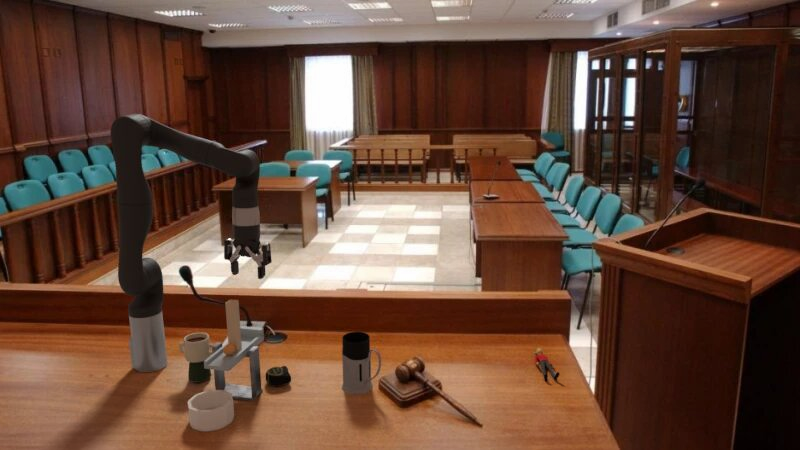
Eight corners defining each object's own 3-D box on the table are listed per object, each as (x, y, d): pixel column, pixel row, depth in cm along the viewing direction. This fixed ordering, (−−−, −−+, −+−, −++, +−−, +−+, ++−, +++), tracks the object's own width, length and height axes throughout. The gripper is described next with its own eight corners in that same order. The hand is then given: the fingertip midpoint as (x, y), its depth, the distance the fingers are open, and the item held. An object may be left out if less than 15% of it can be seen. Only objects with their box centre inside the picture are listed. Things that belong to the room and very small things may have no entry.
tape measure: (291, 386, 179) (291, 374, 178) (267, 390, 177) (266, 378, 176) (288, 375, 185) (287, 363, 185) (264, 379, 183) (264, 367, 182)
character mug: (223, 374, 186) (219, 333, 183) (212, 386, 179) (209, 343, 176) (188, 372, 188) (184, 331, 184) (176, 383, 181) (172, 341, 178)
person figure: (544, 368, 180) (533, 341, 197) (539, 380, 181) (528, 352, 198) (561, 373, 180) (548, 345, 197) (556, 385, 181) (544, 356, 198)
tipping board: (201, 370, 164) (196, 313, 160) (239, 339, 183) (235, 287, 179) (232, 373, 162) (227, 316, 158) (267, 341, 181) (263, 290, 177)
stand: (212, 396, 174) (208, 348, 170) (224, 385, 179) (220, 339, 176) (254, 401, 171) (250, 353, 167) (264, 390, 176) (261, 344, 173)
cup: (180, 429, 158) (178, 409, 157) (205, 406, 169) (203, 387, 167) (219, 434, 155) (217, 414, 154) (241, 411, 166) (240, 392, 165)
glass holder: (358, 376, 184) (357, 328, 181) (392, 393, 175) (392, 342, 171) (335, 386, 178) (333, 337, 175) (368, 405, 169) (367, 353, 165)
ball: (221, 356, 168) (220, 346, 167) (227, 352, 171) (226, 341, 170) (231, 358, 167) (231, 347, 166) (237, 353, 170) (236, 342, 169)
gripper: (216, 221, 177) (219, 276, 181) (260, 227, 173) (262, 283, 177) (232, 216, 184) (234, 269, 188) (275, 221, 179) (276, 275, 183)
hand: (248, 276), depth 182 cm, fingers open, 8 cm apart
